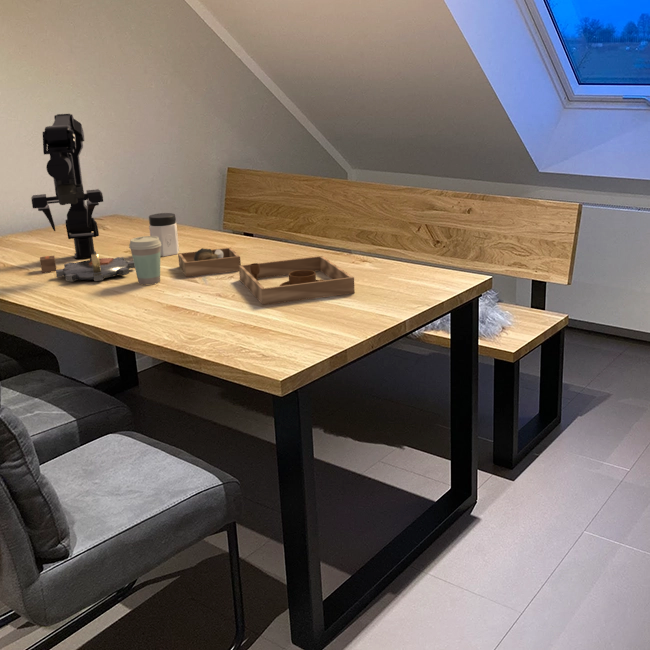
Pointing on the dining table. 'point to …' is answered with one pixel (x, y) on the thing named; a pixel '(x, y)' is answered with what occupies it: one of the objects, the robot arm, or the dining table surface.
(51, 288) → the dining table surface
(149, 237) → the coffee cup
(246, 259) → the dining table surface
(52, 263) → the link block
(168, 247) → the jar
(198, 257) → the eagle figurine
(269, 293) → the saucer tray frame
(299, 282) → the place setting
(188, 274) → the open wooden box
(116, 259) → the sprocket
